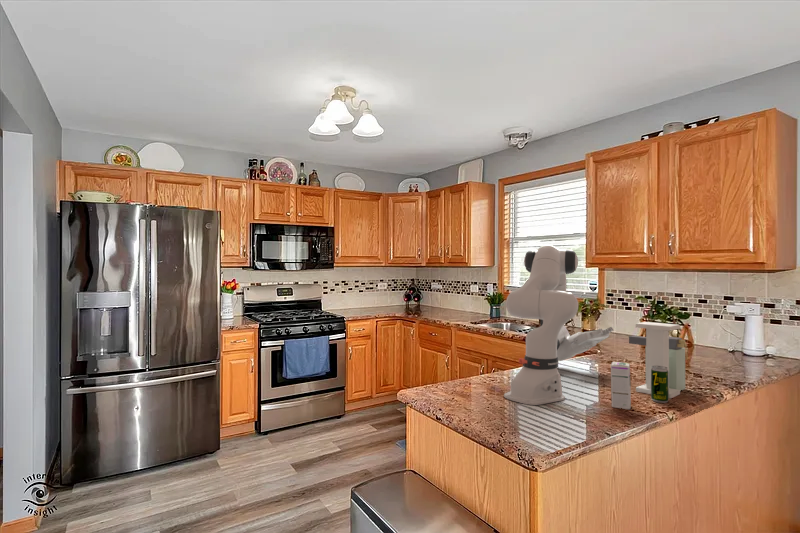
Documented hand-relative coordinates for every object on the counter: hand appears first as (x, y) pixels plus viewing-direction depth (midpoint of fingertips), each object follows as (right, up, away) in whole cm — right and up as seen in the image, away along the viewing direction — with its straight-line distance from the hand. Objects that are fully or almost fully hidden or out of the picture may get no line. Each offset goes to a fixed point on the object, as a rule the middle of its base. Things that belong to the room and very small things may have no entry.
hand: (607, 329), depth 190 cm
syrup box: (-15, -20, -42) cm, 49 cm away
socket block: (+14, -20, -18) cm, 31 cm away
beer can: (+2, -20, -36) cm, 41 cm away
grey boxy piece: (+12, -5, -16) cm, 20 cm away
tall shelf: (+7, -20, -25) cm, 33 cm away
